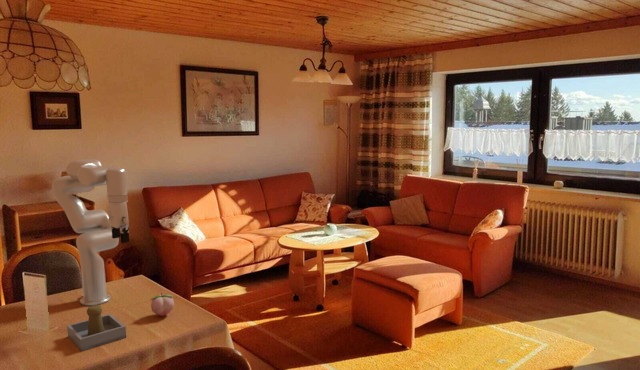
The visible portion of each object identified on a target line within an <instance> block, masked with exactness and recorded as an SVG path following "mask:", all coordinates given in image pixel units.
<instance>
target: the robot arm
mask: <svg viewBox="0 0 640 370" xmlns="http://www.w3.org/2000/svg"><path fill="white" fill-rule="evenodd" d="M65 172H66V174H67V175H64V176H59V177H57V178H55V179H54V180H53V181H52V183H51V190H52V194H53V197H54V198H55V200H56V202H57V203H58V205H59V206H60V207H61V208H62V209H63V211H64V213H65V215H66V217H67V221H69V225H70V226H71V228H72V230H73V231H74V232H75V233H76V234H79V235H78V236H77V237H76V239H75V240H76V241H75V242H76V243H75V244H76V247H77V248H76V249H77V252H78V255H79V262H80V263H79V264H80V271H81V273H80V274H81V283H82V284H81V285H82V286H81V287H82V294H83V295H82V296H83V297H81V298H80V299H79V303H80V304H81V305H82V306H94V305H101V304H105V303H107V302H109V301H110V300H111V295H110V294H109V293H107V284H106V281H107V280H106V271H105V270H106V269H105V260H104V259H103V257H102V256H100V254H99V253H100V252H103V251H107V250H111V249H114V248H116V247H117V246H118V245H119V242H120V243H121V244H126V243H130V234H129V233H130V228H129V226H130V223H129V213H128V212H129V211H128V205H127V203H128V202H129V198H128V197H129V196H128V183H127V181H128V180H127V172H126V169H125V168H122V167H118V166H114V165H108V166H107V165H106V166H103V165H102V163H101V162H100V160H99V159H96V158H87V159H76V160H72V161H70V162H69V163H68V164H66V167H65ZM99 186H106V194H107V204H108V212H106V211H105V210H104V209H100V208H99V209H91V210H88V209H87V208H86V205H85V203H84V202H83V200H81V199H80V198H78V197H77V196H75V195H74V194H82V193H88V192H92V191H93V190H94V189H95V187H99ZM119 240H120V241H119Z"/></svg>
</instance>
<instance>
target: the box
mask: <svg viewBox="0 0 640 370" xmlns="http://www.w3.org/2000/svg"><path fill="white" fill-rule="evenodd" d="M101 317H102V322H103V326H104V330H105V331H104V332H101V333H97V334H94V335H90V336H88V322H89V319H85V320H82V321H77V322H75V323H71V324H67V325H66V330H67V338H68V339H70V341H71V342H72V343H73V344H74V345H75V346H76V347H77V349H78V350H79V351H80V352H84V351H87V350H91V349H94V348H97V347H101V346H103V345H104V346H105V345H107V344H110V343H113V342H117V341H120V340H124V339H127V331H126V330H127V328H126V325H125V324H124V323H122V322H121V321H120V320H118V318H117V317H114V315H112V314H111V313H107V314H104V315H101Z"/></svg>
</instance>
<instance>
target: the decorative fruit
mask: <svg viewBox="0 0 640 370" xmlns="http://www.w3.org/2000/svg"><path fill="white" fill-rule="evenodd" d="M173 298H174V296H173V295H172V294H169V293H165V294H164V293H162V292H160V294H159V295H158V294H157V295H154V296H153V297H152V298H151V299H150V301H151V303H150V308H151V311H152V313H154V314H155V315H157V316H161V317H165V316H167V314H170V313H171V311H172V310H173V309H174V307H175V301H174V299H173Z"/></svg>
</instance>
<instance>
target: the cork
mask: <svg viewBox="0 0 640 370" xmlns="http://www.w3.org/2000/svg"><path fill="white" fill-rule="evenodd" d="M102 313H103V308H102V306H101V305H100V304H98V305H89V307H87V309H86V315H87V316H88V320H89V322H88V336H90V335H94V334H97V333H101V332H104V331H105V330H104V326H103V322H102V317H101V316H102Z"/></svg>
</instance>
